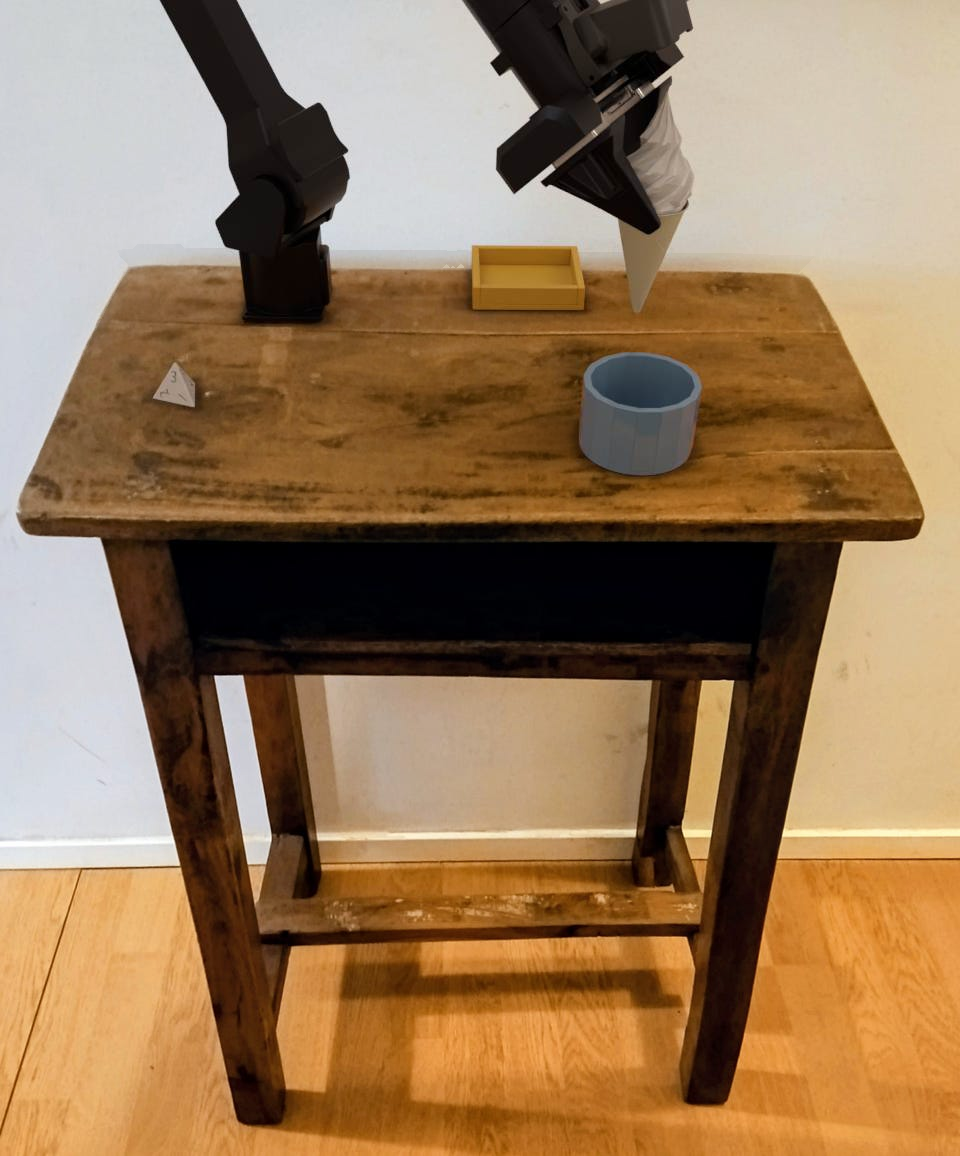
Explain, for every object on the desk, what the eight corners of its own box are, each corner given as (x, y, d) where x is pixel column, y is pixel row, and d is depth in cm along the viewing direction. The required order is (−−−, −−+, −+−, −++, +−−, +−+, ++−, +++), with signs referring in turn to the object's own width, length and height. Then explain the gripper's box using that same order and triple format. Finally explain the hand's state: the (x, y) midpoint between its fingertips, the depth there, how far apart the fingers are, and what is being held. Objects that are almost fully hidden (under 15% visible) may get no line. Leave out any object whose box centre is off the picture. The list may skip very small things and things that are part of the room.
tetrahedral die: (214, 401, 86) (216, 361, 85) (194, 408, 83) (195, 367, 82) (173, 392, 87) (174, 353, 85) (152, 399, 84) (153, 358, 83)
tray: (472, 309, 95) (472, 287, 94) (471, 266, 102) (471, 245, 100) (583, 310, 96) (585, 288, 94) (575, 267, 102) (577, 245, 100)
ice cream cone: (681, 326, 80) (717, 104, 70) (610, 330, 79) (636, 106, 69) (661, 293, 84) (692, 77, 74) (593, 296, 83) (615, 79, 73)
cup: (583, 475, 77) (589, 411, 74) (574, 413, 83) (579, 351, 80) (699, 475, 77) (710, 412, 74) (682, 413, 83) (691, 352, 80)
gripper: (557, -49, 61) (724, 198, 64) (673, -106, 73) (807, 102, 77) (425, 81, 68) (581, 296, 72) (552, 9, 81) (678, 193, 85)
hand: (668, 216), depth 76 cm, fingers closed on ice cream cone, 5 cm apart
